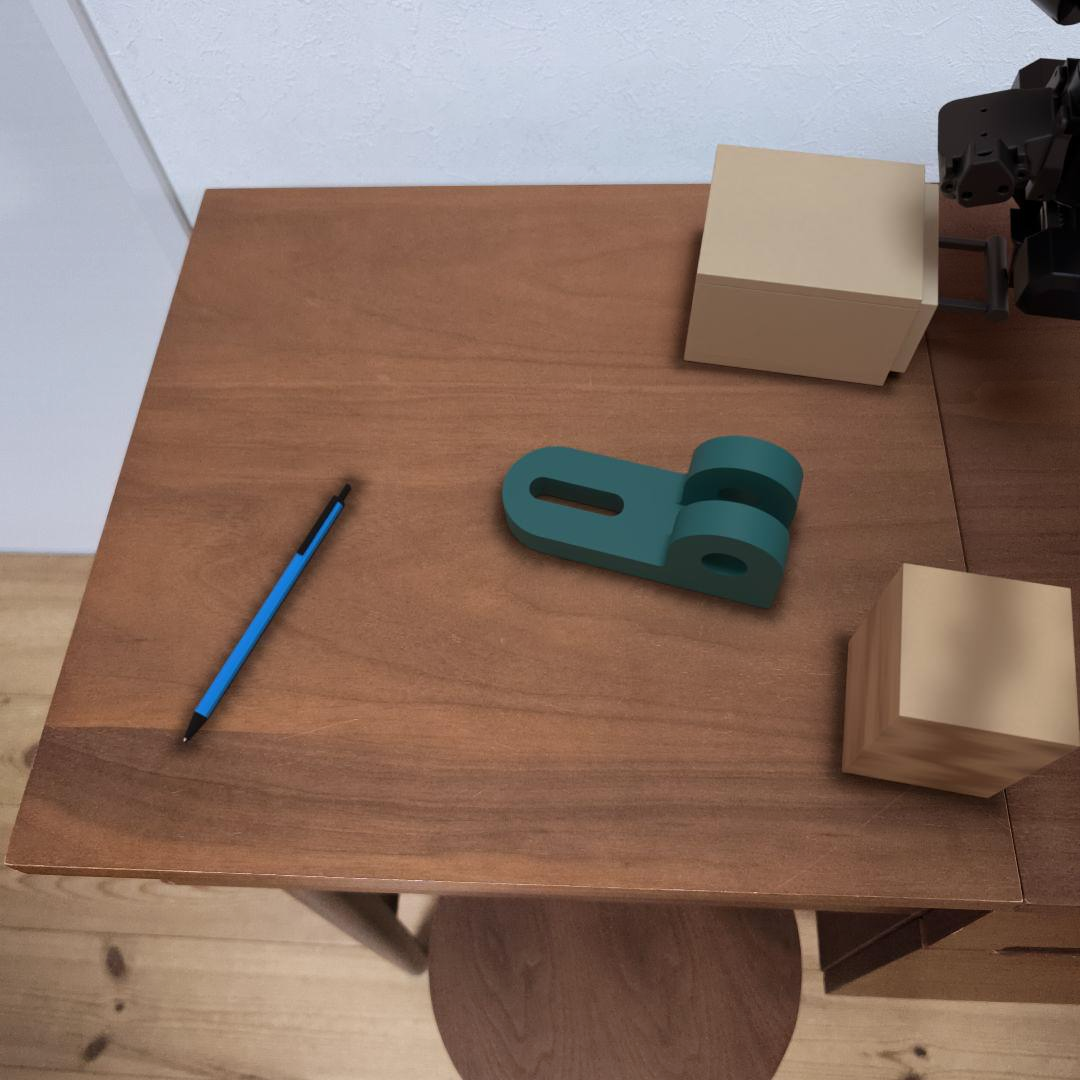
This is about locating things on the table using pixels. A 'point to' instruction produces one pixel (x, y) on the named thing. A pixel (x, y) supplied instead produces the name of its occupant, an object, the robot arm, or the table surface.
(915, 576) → the stand
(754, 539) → the bracket
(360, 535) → the table surface
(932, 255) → the drawer
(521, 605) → the table surface
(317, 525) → the pen
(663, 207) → the table surface
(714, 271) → the cabinet
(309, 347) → the table surface
